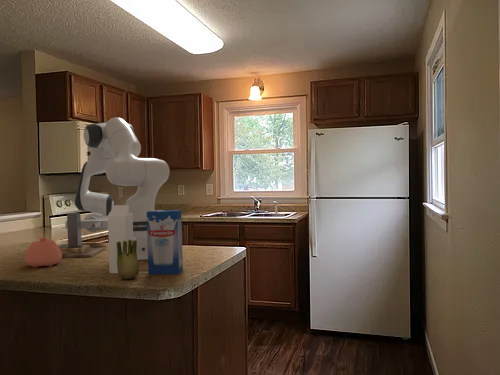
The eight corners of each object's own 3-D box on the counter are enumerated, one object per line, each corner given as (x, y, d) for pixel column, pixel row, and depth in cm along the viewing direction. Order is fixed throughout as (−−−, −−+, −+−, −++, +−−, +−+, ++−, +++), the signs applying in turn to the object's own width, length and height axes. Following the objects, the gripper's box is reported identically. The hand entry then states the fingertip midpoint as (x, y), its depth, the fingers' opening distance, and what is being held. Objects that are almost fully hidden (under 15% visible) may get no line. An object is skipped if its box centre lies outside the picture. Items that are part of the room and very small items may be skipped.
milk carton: (148, 274, 136) (146, 211, 135) (153, 270, 142) (151, 210, 142) (179, 274, 135) (177, 211, 135) (183, 269, 142) (181, 209, 141)
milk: (127, 273, 138) (125, 205, 137) (109, 273, 139) (107, 206, 138) (134, 269, 144) (132, 204, 143) (117, 269, 145) (115, 204, 144)
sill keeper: (105, 249, 188) (105, 242, 188) (91, 257, 170) (91, 249, 170) (55, 251, 187) (55, 244, 187) (35, 258, 169) (35, 251, 169)
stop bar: (81, 250, 181) (80, 212, 180) (78, 252, 177) (76, 213, 176) (72, 250, 181) (70, 213, 180) (68, 252, 177) (67, 214, 176)
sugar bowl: (21, 270, 148) (20, 240, 148) (30, 262, 162) (29, 235, 161) (59, 267, 151) (58, 238, 151) (65, 260, 165) (64, 233, 165)
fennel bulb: (115, 280, 129) (114, 240, 128) (124, 276, 133) (123, 238, 133) (133, 281, 127) (132, 241, 127) (141, 277, 132) (140, 238, 132)
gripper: (71, 216, 203) (59, 219, 189) (114, 215, 203) (105, 218, 189) (71, 229, 203) (59, 233, 189) (115, 228, 203) (106, 232, 190)
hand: (83, 225), depth 189 cm, fingers open, 8 cm apart
